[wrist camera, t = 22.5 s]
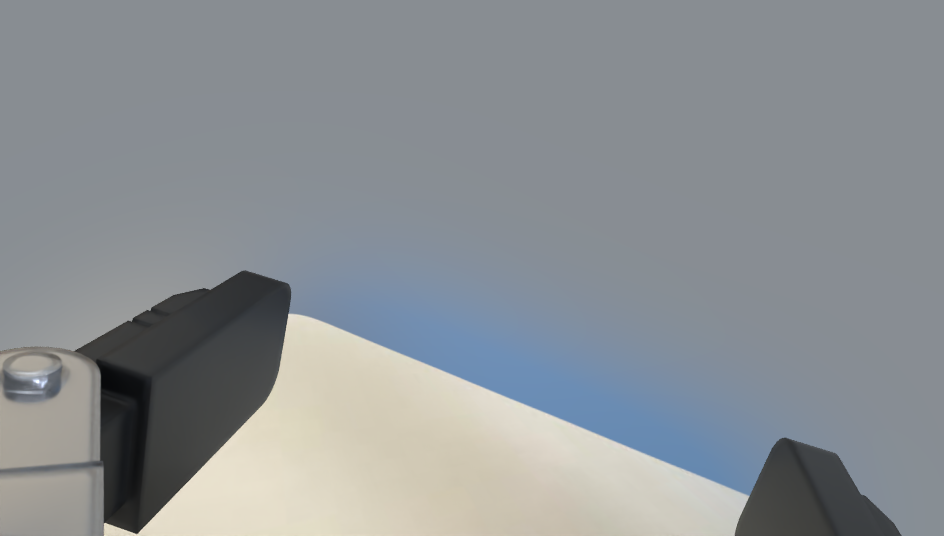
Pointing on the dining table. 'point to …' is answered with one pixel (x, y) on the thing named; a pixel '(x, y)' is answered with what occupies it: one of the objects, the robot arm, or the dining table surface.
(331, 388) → the dining table surface
